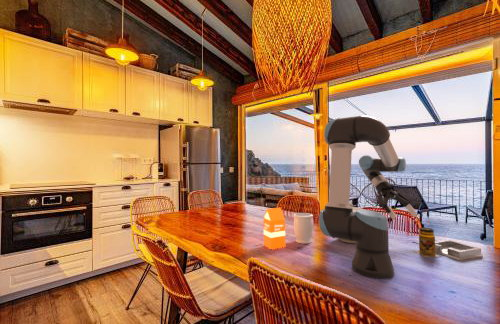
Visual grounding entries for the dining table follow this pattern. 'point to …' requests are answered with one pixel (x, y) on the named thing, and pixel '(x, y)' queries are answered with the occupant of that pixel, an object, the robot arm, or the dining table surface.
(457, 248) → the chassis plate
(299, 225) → the jar
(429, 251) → the condiment
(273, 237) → the orange juice
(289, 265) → the dining table surface
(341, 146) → the robot arm
